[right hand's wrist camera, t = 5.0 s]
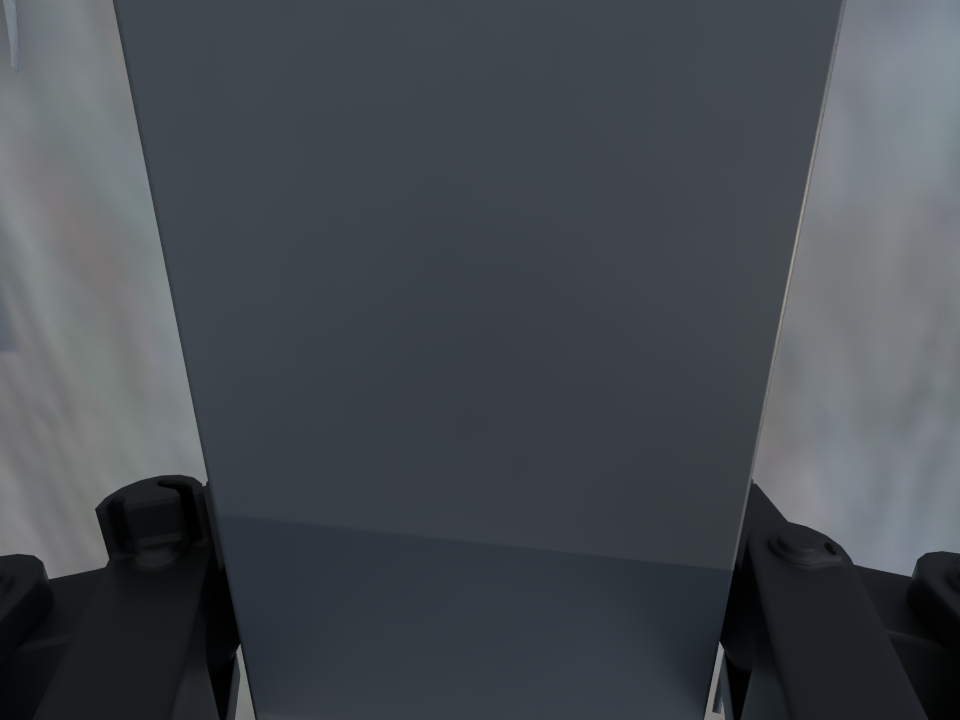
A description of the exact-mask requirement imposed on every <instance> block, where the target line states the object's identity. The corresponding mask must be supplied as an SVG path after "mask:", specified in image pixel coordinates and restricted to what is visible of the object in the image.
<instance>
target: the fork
mask: <svg viewBox="0 0 960 720" xmlns="http://www.w3.org/2000/svg"><path fill="white" fill-rule="evenodd" d="M2 1H3V5H4V10H5V16H6V23H7V29H8V36H9V44H10V52H11V69H12V71H14V72H15V73H18V72H19V43H18V23H17V10H16V2H15V0H2Z"/></svg>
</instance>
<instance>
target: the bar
mask: <svg viewBox="0 0 960 720" xmlns="http://www.w3.org/2000/svg"><path fill="white" fill-rule="evenodd" d="M113 4H114V9H115V14H116V19H117V24H118V29H119V34H120V39H121V44H122V49H123V54H124V59H125V64H126V69H127V74H128V79H129V84H130V89H131V94H132V99H133V104H134V110H135V115H136V120H137V125H138V130H139V135H140V140H141V145H142V150H143V155H144V160H145V165H146V170H147V175H148V180H149V185H150V190H151V195H152V200H153V205H154V210H155V215H156V220H157V225H158V231H159V236H160V241H161V246H162V251H163V256H164V261H165V266H166V271H167V276H168V281H169V286H170V291H171V296H172V301H173V306H174V311H175V316H176V321H177V326H178V331H179V336H180V341H181V346H182V351H183V357H184V362H185V367H186V372H187V377H188V382H189V387H190V392H191V397H192V402H193V407H194V412H195V417H196V422H197V427H198V432H199V437H200V442H201V447H202V452H203V457H204V462H205V467H206V472H207V478H208V483H209V488H210V493H211V498H212V503H213V508H214V513H215V518H216V523H217V528H218V533H219V538H220V543H221V548H222V553H223V558H224V563H225V568H226V573H227V578H228V583H229V588H230V593H231V598H232V604H233V609H234V614H235V619H236V624H237V629H238V634H239V639H240V644H241V649H242V654H243V659H244V664H245V669H246V674H247V679H248V684H249V689H250V694H251V699H252V704H253V709H254V714H255V719H256V720H704V717H705V712H706V707H707V702H708V696H709V691H710V686H711V681H712V676H713V671H714V666H715V661H716V656H717V651H718V646H719V641H720V636H721V631H722V626H723V621H724V616H725V611H726V606H727V601H728V595H729V590H730V585H731V580H732V575H733V570H734V565H735V560H736V555H737V550H738V545H739V540H740V535H741V530H742V525H743V520H744V515H745V510H746V505H747V500H748V494H749V489H750V484H751V479H752V474H753V469H754V464H755V459H756V454H757V449H758V444H759V439H760V434H761V429H762V424H763V419H764V414H765V409H766V404H767V398H768V393H769V388H770V383H771V378H772V373H773V368H774V363H775V358H776V353H777V348H778V343H779V338H780V333H781V328H782V323H783V318H784V313H785V308H786V303H787V297H788V292H789V287H790V282H791V277H792V272H793V267H794V262H795V257H796V252H797V247H798V242H799V237H800V232H801V227H802V222H803V217H804V212H805V207H806V202H807V196H808V191H809V186H810V181H811V176H812V171H813V166H814V161H815V156H816V151H817V146H818V141H819V136H820V131H821V126H822V121H823V116H824V111H825V106H826V101H827V95H828V90H829V85H830V80H831V75H832V70H833V65H834V60H835V55H836V50H837V45H838V40H839V35H840V30H841V25H842V20H843V15H844V10H845V5H846V0H113Z"/></svg>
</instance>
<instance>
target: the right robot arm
mask: <svg viewBox="0 0 960 720" xmlns="http://www.w3.org/2000/svg"><path fill="white" fill-rule="evenodd" d="M95 510H96V514H97V517H98V521H99V524H100V528H101V531H102V535H103V538H104V542H105V545H106V549H107V552H108V556H109V561H108V563H107V565H106V567H104V568H101V569H97V570H93V571H88V572H83V573H78V574H73V575H68V576H64V577H59V578H54V579H48V576H47V573H46V570H45V567H44V564H43V562H42V561H40V560H39V559H38V558H36V557H35V556H32V555H23V554H14V555H7V556H0V720H235V714H236V706H237V698H238V690H239V682H240V670H239V663H238V658H237V653H236V651H237V649H238V647H239V645H240V639H239V634H238V629H237V624H236V619H235V614H234V609H233V604H232V598H231V593H230V588H229V583H228V578H227V573H226V568H225V563H224V558H223V553H222V548H221V543H220V538H219V533H218V528H217V523H216V518H215V513H214V508H213V503H212V498H211V493H210V488H209V483H208V481H207V483H206V486H202V483H200V482H199V481H198V480H196V479H195V478H193V477H188V476H183V475H164V476H158V477H153V478H149V479H144V480H140V481H138V482H135V483H133V484H130V485H128V486H125V487H123V488H121V489H119V490H117V491H116V492H114V493H113V494H111V495H109V496H108V497H106V498H105V499H104V500H103V501H102V502H101V503H100V504H99V505H98V506H97V508H96V509H95ZM720 643H721V645H722V647H723V649H724V653H723V658H722V663H721V668H720V673H719V678H718V683H717V688H716V693H715V698H714V704H713V711H712V712H715V713H719V714H720V712H721V708H722V703H723V705H724V713H725V720H960V554H958V553H951V552H944V551H940V552H931V553H926V554H924V555H923V556H922V557H920V558H919V559H918V560H917V563H916V566H915V569H914V571H913V574H912V577H909V576H904V575H899V574H894V573H889V572H884V571H880V570H875V569H870V568H865V567H861V566H857V565H854V564H853V562H852V560H851V558H850V557H849V556H848V554H847V553H846V552H845V551H844V549H843V548H842V547H841V546H840V545H839V544H837V543H836V542H835V541H833V540H832V539H830V538H829V537H828V536H826V535H824V534H822V533H820V532H818V531H816V530H813V529H811V528H809V527H806V526H803V525H799V524H795V523H791V522H788V521H787V520H786V519H785V518H784V517H783V515H782V514H781V513H780V512H779V511H778V509H777V508H776V507H775V506H774V505H773V503H772V502H771V501H770V500H769V499H768V497H767V496H766V495H765V494H764V493H763V491H762V490H761V489H760V488H759V487H758V485H757V484H754V482H753V479H751V484H750V489H749V494H748V500H747V505H746V510H745V515H744V520H743V525H742V530H741V535H740V540H739V545H738V550H737V555H736V560H735V565H734V570H733V575H732V580H731V585H730V590H729V595H728V601H727V606H726V611H725V616H724V621H723V626H722V631H721V636H720Z"/></svg>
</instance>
